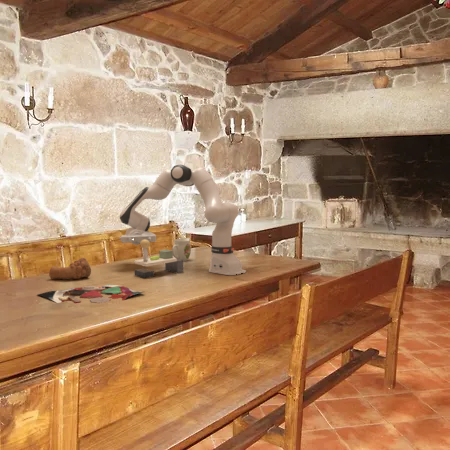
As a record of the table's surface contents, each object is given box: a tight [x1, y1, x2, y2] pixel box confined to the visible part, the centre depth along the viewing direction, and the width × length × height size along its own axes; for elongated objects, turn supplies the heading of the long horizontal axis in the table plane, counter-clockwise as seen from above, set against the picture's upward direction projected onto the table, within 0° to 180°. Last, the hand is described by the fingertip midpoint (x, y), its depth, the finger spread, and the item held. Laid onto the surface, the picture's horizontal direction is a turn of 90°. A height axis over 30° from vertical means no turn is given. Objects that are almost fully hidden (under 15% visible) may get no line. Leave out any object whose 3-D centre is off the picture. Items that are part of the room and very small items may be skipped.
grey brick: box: [134, 259, 184, 279], centre depth 260 cm, size 12×25×7 cm, turn 132°
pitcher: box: [171, 237, 192, 262], centre depth 300 cm, size 11×18×14 cm, turn 148°
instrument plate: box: [133, 239, 177, 267], centre depth 258 cm, size 20×12×14 cm, turn 132°
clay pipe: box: [48, 257, 92, 280], centre depth 247 cm, size 19×11×15 cm
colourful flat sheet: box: [37, 283, 144, 304], centre depth 213 cm, size 35×35×2 cm
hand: (141, 240), depth 262 cm, fingers open, 8 cm apart
